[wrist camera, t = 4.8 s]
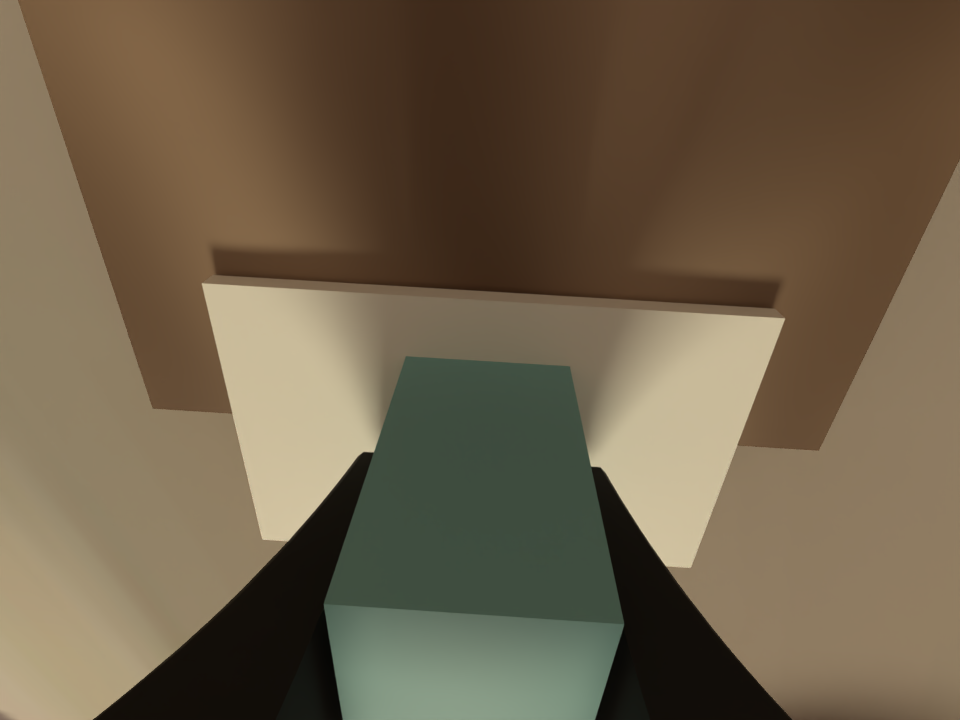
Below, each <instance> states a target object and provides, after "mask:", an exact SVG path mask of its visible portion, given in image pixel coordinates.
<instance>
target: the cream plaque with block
mask: <svg viewBox="0 0 960 720" xmlns="http://www.w3.org/2000/svg"><path fill="white" fill-rule="evenodd" d="M202 287H203V291H204V295H205V300H206V304H207V308H208V312H209V317H210V321H211V325H212V329H213V333H214V338H215V342H216V346H217V350H218V354H219V359H220V363H221V367H222V371H223V376H224V380H225V384H226V388H227V392H228V397H229V401H230V405H231V409H232V414H233V418H234V422H235V426H236V430H237V435H238V439H239V443H240V447H241V451H242V456H243V460H244V464H245V468H246V473H247V477H248V481H249V485H250V489H251V494H252V498H253V502H254V506H255V511H256V515H257V519H258V523H259V527H260V532H261V536H262V540H278V541H289V540H290V539H291V537H292V536H293V535H294V534H295V533H296V532H297V531H298V529H299V528H300V527H301V526H302V525H303V524H304V523H305V521H306V520H307V519H308V518H309V517H310V516H311V514H312V513H313V512H314V511H315V510H316V509H317V508H318V506H319V505H320V504H321V503H322V501H323V500H324V499H325V498H326V497H327V495H328V494H329V493H330V492H331V490H332V489H333V488H334V487H335V485H336V484H337V483H338V482H339V480H340V479H341V478H342V477H343V475H344V474H345V473H346V471H347V470H348V469H349V467H350V466H351V465H352V463H353V462H354V461H355V459H356V458H357V457H358V456H359V455H360V454H361V453H363V452H374V454H373V457H372V460H371V463H370V466H369V469H368V472H367V475H366V478H365V481H364V484H363V487H362V490H361V493H360V496H359V499H358V502H357V505H356V508H355V511H354V514H353V517H352V520H351V523H350V526H349V529H348V532H347V535H346V538H345V541H344V544H343V547H342V550H341V553H340V556H339V559H338V562H337V565H336V568H335V571H334V574H333V577H332V580H331V583H330V586H329V589H328V592H327V595H326V598H325V601H324V610H325V616H326V622H327V628H328V634H329V640H330V646H331V652H332V658H333V664H334V670H335V676H336V682H337V688H338V694H339V700H340V706H341V712H342V718H343V720H595V718H596V715H597V712H598V708H599V705H600V702H601V699H602V695H603V692H604V689H605V686H606V682H607V679H608V676H609V673H610V669H611V666H612V663H613V660H614V656H615V653H616V650H617V647H618V643H619V640H620V637H621V634H622V630H623V627H624V620H623V615H622V611H621V606H620V601H619V597H618V592H617V587H616V582H615V578H614V573H613V568H612V563H611V559H610V554H609V549H608V545H607V540H606V535H605V530H604V526H603V521H602V516H601V511H600V507H599V502H598V497H597V492H596V488H595V483H594V478H593V474H592V469H591V467H601V468H602V469H603V470H604V472H605V473H606V474H607V476H608V478H609V480H610V481H611V483H612V485H613V486H614V488H615V490H616V491H617V493H618V495H619V496H620V498H621V500H622V501H623V503H624V505H625V506H626V508H627V509H628V511H629V513H630V514H631V516H632V517H633V519H634V520H635V522H636V523H637V525H638V527H639V528H640V530H641V531H642V533H643V534H644V536H645V537H646V539H647V540H648V542H649V543H650V545H651V546H652V547H653V549H654V550H655V552H656V553H657V555H658V556H659V557H660V559H661V560H662V562H663V563H664V565H665V566H671V567H687V568H691V566H692V563H693V560H694V558H695V555H696V553H697V550H698V547H699V545H700V542H701V539H702V537H703V534H704V531H705V529H706V526H707V524H708V521H709V518H710V516H711V513H712V510H713V508H714V505H715V502H716V500H717V497H718V495H719V492H720V489H721V487H722V484H723V481H724V479H725V476H726V473H727V471H728V468H729V466H730V463H731V460H732V458H733V455H734V452H735V450H736V447H737V444H738V442H739V439H740V437H741V434H742V431H743V429H744V426H745V423H746V421H747V418H748V416H749V413H750V410H751V408H752V405H753V402H754V400H755V397H756V394H757V392H758V389H759V387H760V384H761V381H762V379H763V376H764V373H765V371H766V368H767V365H768V363H769V360H770V358H771V355H772V352H773V350H774V347H775V344H776V342H777V339H778V336H779V334H780V331H781V329H782V326H783V323H784V321H785V318H784V317H783V316H782V315H781V314H780V313H779V312H778V311H777V310H776V309H772V308H756V307H739V306H722V305H706V304H689V303H672V302H656V301H639V300H622V299H606V298H589V297H572V296H556V295H539V294H522V293H506V292H489V291H472V290H456V289H439V288H422V287H406V286H389V285H372V284H356V283H339V282H322V281H306V280H289V279H272V278H256V277H239V276H222V275H212V276H211V277H209V278H208V279H207V280H205V281H204V282H203V283H202Z"/></svg>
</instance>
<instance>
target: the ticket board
mask: <svg viewBox="0 0 960 720" xmlns="http://www.w3.org/2000/svg"><path fill="white" fill-rule="evenodd" d="M18 2H19V5H20V8H21V11H22V14H23V17H24V20H25V23H26V26H27V29H28V32H29V35H30V38H31V41H32V44H33V47H34V50H35V53H36V56H37V59H38V62H39V65H40V68H41V71H42V74H43V77H44V80H45V83H46V86H47V89H48V92H49V95H50V98H51V101H52V105H53V108H54V111H55V114H56V117H57V120H58V123H59V126H60V129H61V132H62V135H63V138H64V141H65V144H66V147H67V150H68V153H69V156H70V159H71V162H72V165H73V168H74V171H75V174H76V177H77V180H78V183H79V186H80V189H81V192H82V195H83V198H84V201H85V204H86V207H87V211H88V214H89V217H90V220H91V223H92V226H93V229H94V232H95V235H96V238H97V241H98V244H99V247H100V250H101V253H102V256H103V259H104V262H105V265H106V268H107V271H108V274H109V277H110V280H111V283H112V286H113V289H114V292H115V295H116V298H117V301H118V304H119V307H120V310H121V314H122V317H123V320H124V323H125V326H126V329H127V332H128V335H129V338H130V341H131V344H132V347H133V350H134V353H135V356H136V359H137V362H138V365H139V368H140V371H141V374H142V377H143V380H144V383H145V386H146V389H147V392H148V395H149V398H150V401H151V404H152V407H153V409H169V410H185V411H201V412H217V413H232V409H231V405H230V401H229V397H228V392H227V388H226V384H225V380H224V376H223V371H222V367H221V363H220V359H219V354H218V350H217V346H216V342H215V338H214V333H213V329H212V325H211V321H210V317H209V312H208V308H207V304H206V300H205V295H204V291H203V287H202V283H203V282H204V281H205V280H207V279H208V278H209V277H211V276H212V275H222V276H239V277H256V278H272V279H289V280H306V281H322V282H339V283H356V284H372V285H389V286H406V287H422V288H439V289H456V290H472V291H489V292H506V293H522V294H539V295H556V296H572V297H589V298H606V299H622V300H639V301H656V302H672V303H689V304H706V305H722V306H739V307H756V308H772V309H776V310H777V311H778V312H779V313H780V314H781V315H782V316H783V317H784V318H785V321H784V323H783V326H782V329H781V331H780V334H779V336H778V339H777V342H776V344H775V347H774V350H773V352H772V355H771V358H770V360H769V363H768V365H767V368H766V371H765V373H764V376H763V379H762V381H761V384H760V387H759V389H758V392H757V394H756V397H755V400H754V402H753V405H752V408H751V410H750V413H749V416H748V418H747V421H746V423H745V426H744V429H743V431H742V434H741V437H740V439H739V442H738V444H737V445H739V446H755V447H771V448H787V449H803V450H818V451H819V449H820V447H821V445H822V443H823V441H824V439H825V437H826V435H827V433H828V430H829V428H830V426H831V424H832V422H833V420H834V418H835V416H836V414H837V412H838V410H839V408H840V406H841V404H842V402H843V399H844V397H845V395H846V393H847V391H848V389H849V387H850V385H851V383H852V381H853V379H854V377H855V375H856V373H857V371H858V368H859V366H860V364H861V362H862V360H863V358H864V356H865V354H866V352H867V350H868V348H869V346H870V344H871V342H872V340H873V337H874V335H875V333H876V331H877V329H878V327H879V325H880V323H881V321H882V319H883V317H884V315H885V313H886V311H887V308H888V306H889V304H890V302H891V300H892V298H893V296H894V294H895V292H896V290H897V288H898V286H899V284H900V282H901V280H902V277H903V275H904V273H905V271H906V269H907V267H908V265H909V263H910V261H911V259H912V257H913V255H914V253H915V251H916V249H917V246H918V244H919V242H920V240H921V238H922V236H923V234H924V232H925V230H926V228H927V226H928V224H929V222H930V220H931V218H932V215H933V213H934V211H935V209H936V207H937V205H938V203H939V201H940V199H941V197H942V195H943V193H944V191H945V189H946V187H947V184H948V182H949V180H950V178H951V176H952V174H953V172H954V170H955V168H956V166H957V164H958V162H959V160H960V0H18Z"/></svg>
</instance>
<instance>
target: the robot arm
mask: <svg viewBox="0 0 960 720" xmlns="http://www.w3.org/2000/svg"><path fill="white" fill-rule="evenodd" d="M373 454H374V452H363V453H361V454H360V455H359V456H358V457H357V458H356V459H355V461H354V462H353V463H352V465H351V466H350V467H349V469H348V470H347V471H346V473H345V474H344V475H343V477H342V478H341V479H340V480H339V482H338V483H337V484H336V485H335V487H334V488H333V489H332V490H331V492H330V493H329V494H328V495H327V497H326V498H325V499H324V500H323V501H322V503H321V504H320V505H319V506H318V508H317V509H316V510H315V511H314V512H313V513H312V514H311V516H310V517H309V518H308V519H307V520H306V521H305V523H304V524H303V525H302V526H301V527H300V528H299V529H298V531H297V532H296V533H295V534H294V535H293V536H292V537H291V539H290V540H289V541H288V542H287V543H286V544H285V545H284V546H283V547H282V549H281V550H280V551H279V552H278V553H277V554H276V555H275V556H274V557H273V558H272V559H271V560H270V561H269V562H268V563H267V564H266V565H265V566H264V567H263V568H262V569H261V570H260V571H259V573H258V574H257V575H256V576H255V577H254V578H253V579H252V580H251V581H250V582H249V583H248V584H247V585H246V586H245V587H244V588H243V589H242V590H241V591H240V592H239V593H238V594H237V595H236V596H235V597H234V598H233V599H232V600H231V601H230V602H229V603H228V604H227V605H226V606H225V607H224V608H223V609H222V610H220V611H219V612H218V613H217V614H216V615H215V616H214V617H213V618H212V619H211V620H210V621H209V622H208V623H207V624H205V625H204V626H203V627H202V628H201V629H200V630H199V631H198V632H197V633H196V634H194V635H193V636H192V637H191V638H190V639H189V640H188V641H187V642H186V643H185V644H183V645H182V646H181V647H180V648H179V649H178V650H177V651H175V652H174V653H173V654H172V655H171V656H170V657H168V658H167V659H166V660H165V661H164V662H162V663H161V664H160V665H159V666H158V667H157V668H155V669H154V670H153V671H152V672H151V673H149V674H148V675H147V676H146V677H145V678H144V679H142V680H141V681H140V682H139V683H138V684H136V685H135V686H134V687H133V688H132V689H131V690H129V691H128V692H127V693H126V694H124V695H123V696H122V697H121V698H119V699H118V700H117V701H116V702H115V703H113V704H112V705H111V706H110V707H108V708H107V709H106V710H105V711H103V712H102V713H101V714H100V715H98V716H97V717H96V718H94V719H93V720H343V718H342V712H341V706H340V700H339V694H338V688H337V682H336V676H335V670H334V664H333V658H332V652H331V646H330V640H329V634H328V628H327V622H326V616H325V610H324V601H325V598H326V595H327V592H328V589H329V586H330V583H331V580H332V577H333V574H334V571H335V568H336V565H337V562H338V559H339V556H340V553H341V550H342V547H343V544H344V541H345V538H346V535H347V532H348V529H349V526H350V523H351V520H352V517H353V514H354V511H355V508H356V505H357V502H358V499H359V496H360V493H361V490H362V487H363V484H364V481H365V478H366V475H367V472H368V469H369V466H370V463H371V460H372V457H373ZM591 469H592V474H593V478H594V483H595V488H596V492H597V497H598V502H599V507H600V511H601V516H602V521H603V526H604V530H605V535H606V540H607V545H608V549H609V554H610V559H611V563H612V568H613V573H614V578H615V582H616V587H617V592H618V597H619V601H620V606H621V611H622V615H623V620H624V627H623V630H622V634H621V637H620V640H619V643H618V647H617V650H616V653H615V656H614V660H613V663H612V666H611V669H610V673H609V676H608V679H607V682H606V686H605V689H604V692H603V695H602V699H601V702H600V705H599V708H598V712H597V715H596V718H595V720H792V719H791V718H790V717H789V716H788V715H787V714H786V712H785V711H784V710H783V709H782V708H781V707H780V706H779V705H778V704H777V703H776V702H775V701H774V699H773V698H772V697H771V696H770V695H769V694H768V693H767V692H766V691H765V690H764V688H763V687H762V686H761V685H760V684H759V683H758V682H757V680H756V679H755V678H754V677H753V676H752V675H751V674H750V672H749V671H748V670H747V669H746V668H745V667H744V666H743V664H742V663H741V662H740V661H739V660H738V659H737V657H736V656H735V655H734V654H733V653H732V652H731V650H730V649H729V648H728V647H727V646H726V644H725V643H724V642H723V641H722V639H721V638H720V637H719V636H718V635H717V633H716V632H715V631H714V630H713V628H712V627H711V626H710V625H709V623H708V622H707V621H706V619H705V618H704V617H703V616H702V614H701V613H700V612H699V610H698V609H697V608H696V607H695V605H694V604H693V603H692V601H691V600H690V599H689V598H688V596H687V595H686V594H685V592H684V591H683V590H682V588H681V587H680V585H679V584H678V583H677V581H676V580H675V579H674V577H673V576H672V574H671V573H670V572H669V570H668V569H667V567H666V566H665V565H664V563H663V562H662V560H661V559H660V557H659V556H658V555H657V553H656V552H655V550H654V549H653V547H652V546H651V545H650V543H649V542H648V540H647V539H646V537H645V536H644V534H643V533H642V531H641V530H640V528H639V527H638V525H637V523H636V522H635V520H634V519H633V517H632V516H631V514H630V513H629V511H628V509H627V508H626V506H625V505H624V503H623V501H622V500H621V498H620V496H619V495H618V493H617V491H616V490H615V488H614V486H613V485H612V483H611V481H610V480H609V478H608V476H607V474H606V473H605V472H604V470H603V469H602V468H601V467H591Z"/></svg>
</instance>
